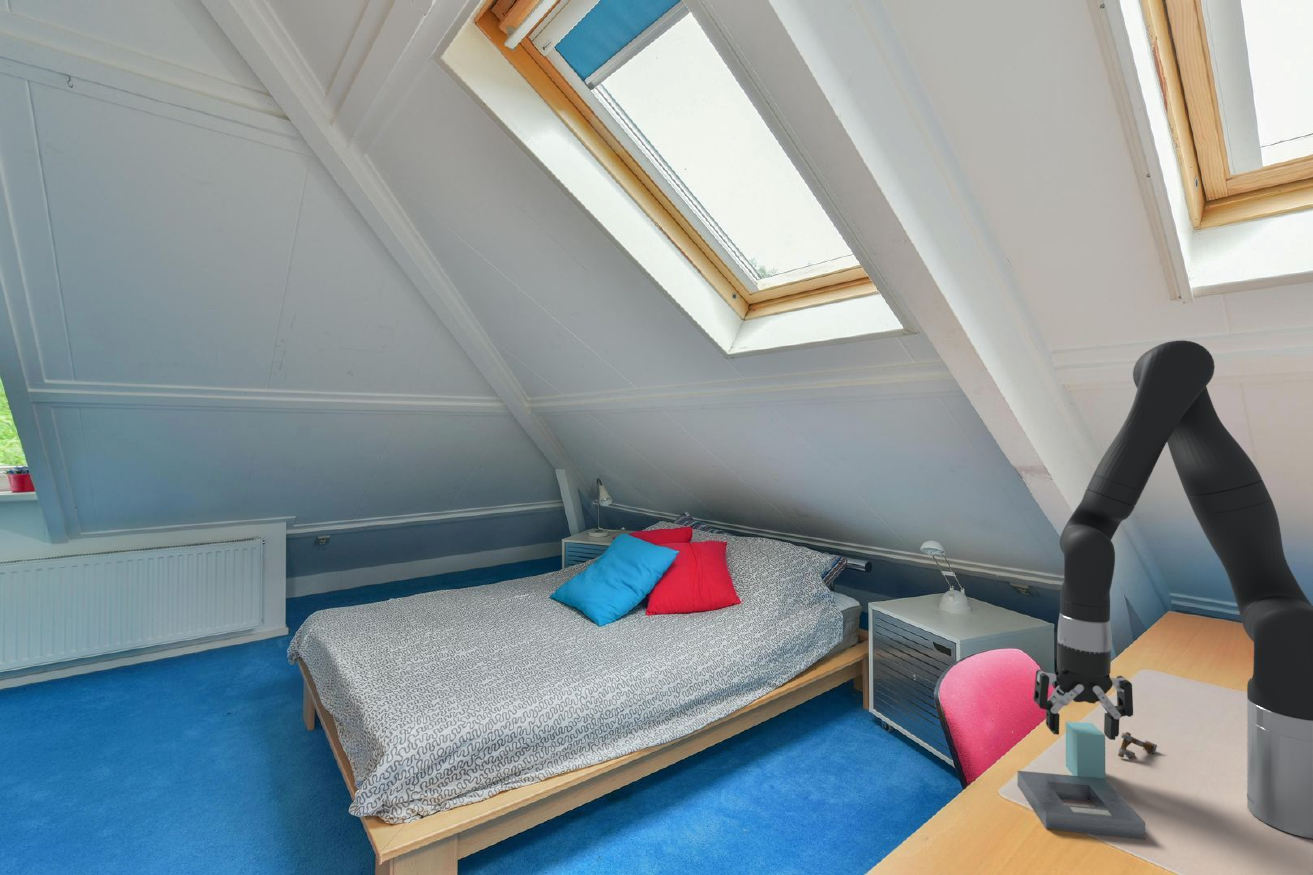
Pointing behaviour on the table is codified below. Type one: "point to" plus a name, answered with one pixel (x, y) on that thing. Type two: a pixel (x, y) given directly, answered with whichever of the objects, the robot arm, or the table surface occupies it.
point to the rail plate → (1102, 819)
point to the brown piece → (1129, 739)
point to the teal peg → (1085, 750)
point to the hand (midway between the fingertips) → (1081, 734)
